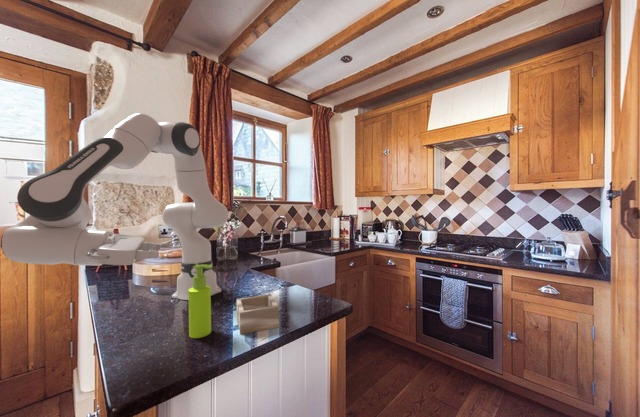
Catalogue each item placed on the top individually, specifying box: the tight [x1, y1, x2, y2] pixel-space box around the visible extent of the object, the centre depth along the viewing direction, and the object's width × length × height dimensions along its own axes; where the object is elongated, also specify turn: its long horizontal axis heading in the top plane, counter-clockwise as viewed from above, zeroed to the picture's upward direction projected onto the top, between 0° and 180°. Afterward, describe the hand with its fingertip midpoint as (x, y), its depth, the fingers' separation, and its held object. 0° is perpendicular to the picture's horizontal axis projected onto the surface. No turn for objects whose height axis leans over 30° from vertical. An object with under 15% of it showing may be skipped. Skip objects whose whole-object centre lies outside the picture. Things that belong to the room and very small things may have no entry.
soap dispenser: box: [188, 264, 214, 339], centre depth 76 cm, size 6×7×20 cm
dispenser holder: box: [235, 293, 280, 335], centre depth 83 cm, size 12×11×6 cm
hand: (159, 250), depth 73 cm, fingers open, 8 cm apart
